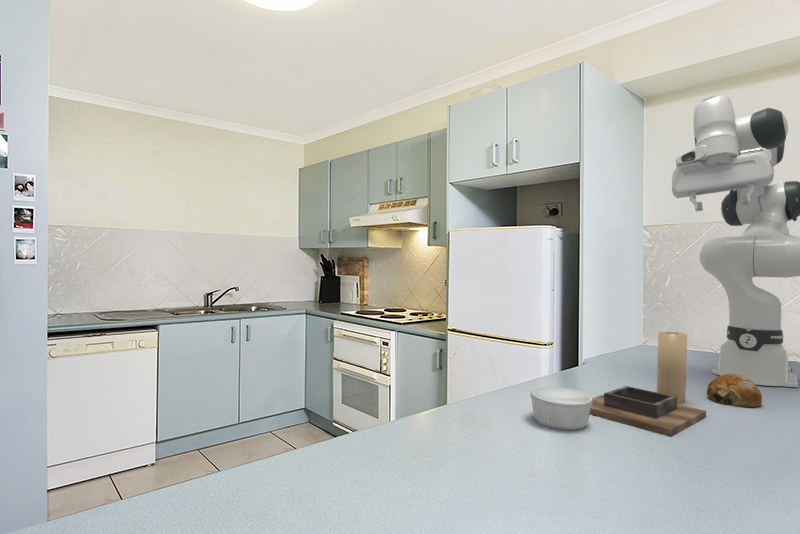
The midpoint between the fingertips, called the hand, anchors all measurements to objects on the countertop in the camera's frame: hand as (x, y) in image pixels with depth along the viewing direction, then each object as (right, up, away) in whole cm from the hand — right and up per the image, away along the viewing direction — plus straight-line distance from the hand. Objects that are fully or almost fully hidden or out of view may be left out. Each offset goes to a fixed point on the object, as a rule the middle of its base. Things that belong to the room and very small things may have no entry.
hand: (722, 207), depth 110 cm
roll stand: (-29, -44, -17) cm, 56 cm away
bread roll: (-3, -45, -7) cm, 46 cm away
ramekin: (-47, -44, -23) cm, 69 cm away
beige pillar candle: (-17, -44, -7) cm, 48 cm away
